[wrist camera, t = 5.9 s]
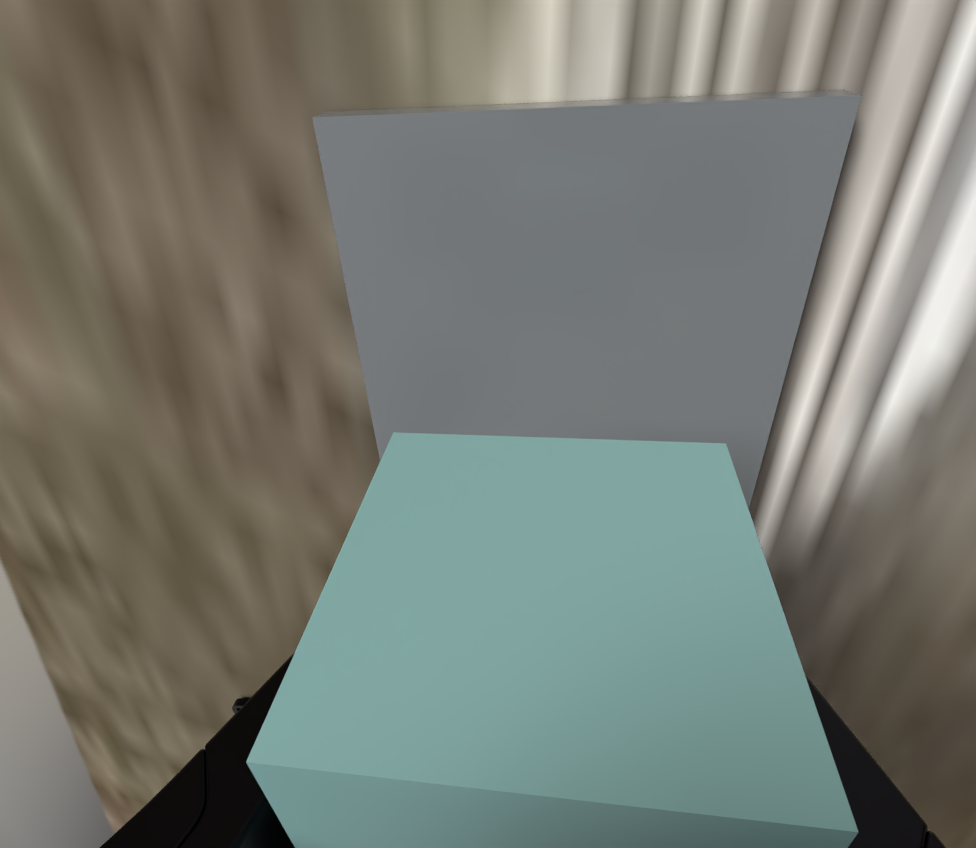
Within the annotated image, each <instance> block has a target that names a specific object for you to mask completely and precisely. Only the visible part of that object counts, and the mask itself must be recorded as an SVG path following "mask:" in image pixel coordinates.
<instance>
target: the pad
mask: <svg viewBox="0 0 976 848" xmlns="http://www.w3.org/2000/svg"><path fill="white" fill-rule="evenodd" d="M861 96H862V95H860V94H857V93H853V92H850V91H846V90H828V91H804V92H781V93H757V94H733V95H709V96H686V97H662V98H638V99H614V100H591V101H567V102H543V103H519V104H495V105H472V106H448V107H424V108H400V109H377V110H353V111H329V112H325V113H322V114H320V115H317V116H315V117H312V119H313V124H314V129H315V134H316V139H317V144H318V149H319V154H320V160H321V165H322V170H323V175H324V180H325V185H326V190H327V195H328V200H329V205H330V210H331V215H332V220H333V225H334V230H335V235H336V240H337V245H338V251H339V256H340V261H341V266H342V271H343V276H344V281H345V286H346V291H347V296H348V301H349V306H350V311H351V316H352V321H353V326H354V331H355V336H356V341H357V347H358V352H359V357H360V362H361V367H362V372H363V377H364V382H365V387H366V392H367V397H368V402H369V407H370V412H371V417H372V422H373V427H374V432H375V438H376V443H377V448H378V453H379V458H380V461H381V459H382V457H383V454H384V452H385V450H386V448H387V445H388V443H389V441H390V439H391V436H392V434H393V432H396V433H426V434H456V435H486V436H517V437H547V438H577V439H607V440H638V441H668V442H698V443H726V445H727V448H728V451H729V454H730V457H731V460H732V463H733V466H734V468H735V471H736V474H737V477H738V480H739V483H740V486H741V489H742V492H743V495H744V498H745V501H746V504H747V507H748V510H749V507H750V503H751V500H752V496H753V492H754V489H755V485H756V481H757V478H758V474H759V470H760V467H761V463H762V459H763V456H764V452H765V448H766V445H767V441H768V437H769V434H770V430H771V426H772V423H773V419H774V415H775V412H776V408H777V404H778V401H779V397H780V393H781V390H782V386H783V382H784V379H785V375H786V371H787V367H788V364H789V360H790V356H791V353H792V349H793V345H794V342H795V338H796V334H797V331H798V327H799V323H800V320H801V316H802V312H803V309H804V305H805V301H806V298H807V294H808V290H809V287H810V283H811V279H812V276H813V272H814V268H815V265H816V261H817V257H818V254H819V250H820V246H821V243H822V239H823V235H824V232H825V228H826V224H827V221H828V217H829V213H830V210H831V206H832V202H833V199H834V195H835V191H836V188H837V184H838V180H839V176H840V173H841V169H842V165H843V162H844V158H845V154H846V151H847V147H848V143H849V140H850V136H851V132H852V129H853V125H854V121H855V118H856V114H857V110H858V107H859V103H860V99H861Z"/></svg>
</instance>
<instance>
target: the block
mask: <svg viewBox="0 0 976 848" xmlns="http://www.w3.org/2000/svg"><path fill="white" fill-rule="evenodd" d="M246 763H247V765H248V766H249V768H250V770H251V772H252V773H253V775H254V777H255V779H256V780H257V782H258V784H259V786H260V787H261V789H262V791H263V793H264V794H265V796H266V798H267V800H268V801H269V803H270V805H271V807H272V808H273V810H274V812H275V814H276V815H277V817H278V819H279V821H280V822H281V824H282V826H283V828H284V829H285V831H286V833H287V835H288V836H289V838H290V840H291V842H292V843H293V845H294V847H295V848H848V846H849V845H850V844H851V842H852V841H853V839H854V838H855V837H856V835H857V834H858V829H857V826H856V823H855V820H854V817H853V814H852V811H851V809H850V806H849V803H848V800H847V797H846V794H845V791H844V788H843V785H842V782H841V779H840V776H839V773H838V770H837V768H836V765H835V762H834V759H833V756H832V753H831V750H830V747H829V744H828V741H827V738H826V735H825V732H824V729H823V726H822V724H821V721H820V718H819V715H818V712H817V709H816V706H815V703H814V700H813V697H812V694H811V691H810V688H809V685H808V682H807V680H806V677H805V674H804V671H803V668H802V665H801V662H800V659H799V656H798V653H797V650H796V647H795V644H794V641H793V639H792V636H791V633H790V630H789V627H788V624H787V621H786V618H785V615H784V612H783V609H782V606H781V603H780V600H779V597H778V595H777V592H776V589H775V586H774V583H773V580H772V577H771V574H770V571H769V568H768V565H767V562H766V559H765V556H764V553H763V551H762V548H761V545H760V542H759V539H758V536H757V533H756V530H755V527H754V524H753V521H752V518H751V515H750V512H749V510H748V507H747V504H746V501H745V498H744V495H743V492H742V489H741V486H740V483H739V480H738V477H737V474H736V471H735V468H734V466H733V463H732V460H731V457H730V454H729V451H728V448H727V445H726V443H698V442H668V441H638V440H607V439H577V438H547V437H517V436H486V435H456V434H426V433H396V432H393V434H392V436H391V439H390V441H389V443H388V445H387V448H386V450H385V452H384V454H383V457H382V459H381V461H380V463H379V466H378V468H377V470H376V472H375V475H374V477H373V479H372V481H371V483H370V486H369V488H368V490H367V492H366V495H365V497H364V499H363V501H362V504H361V506H360V508H359V510H358V513H357V515H356V517H355V519H354V522H353V524H352V526H351V528H350V530H349V533H348V535H347V537H346V539H345V542H344V544H343V546H342V548H341V551H340V553H339V555H338V557H337V560H336V562H335V564H334V566H333V569H332V571H331V573H330V575H329V578H328V580H327V582H326V584H325V586H324V589H323V591H322V593H321V595H320V598H319V600H318V602H317V604H316V607H315V609H314V611H313V613H312V616H311V618H310V620H309V622H308V625H307V627H306V629H305V631H304V633H303V636H302V638H301V640H300V642H299V645H298V647H297V649H296V651H295V654H294V656H293V658H292V660H291V663H290V665H289V667H288V669H287V672H286V674H285V676H284V678H283V680H282V683H281V685H280V687H279V689H278V692H277V694H276V696H275V698H274V701H273V703H272V705H271V707H270V710H269V712H268V714H267V716H266V719H265V721H264V723H263V725H262V728H261V730H260V732H259V734H258V736H257V739H256V741H255V743H254V745H253V748H252V750H251V752H250V754H249V757H248V759H247V761H246Z"/></svg>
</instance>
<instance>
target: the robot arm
mask: <svg viewBox="0 0 976 848" xmlns="http://www.w3.org/2000/svg"><path fill="white" fill-rule="evenodd" d="M294 654H295V653H294ZM294 654H293V655H292V656H291V657H290V658H289V659H288V660H287V661H286V662H285V663H284V664H283V665H282V666H281V667H280V668H279V669H278V670H277V671H276V672H275V673H274V674H273V675H272V676H271V677H270V679H269V680H268V681H267V682H266V683H265V684H264V685H263V686H262V687H261V688H260V689H259V690H258V691H257V692H256V693H255V694H254V695H253V696H252V697H251V698H250V699H242V698H241V699H237V700H236V701H235V703H234V705H233V707H232V709H233V711H234V713H235V715H234V716H233V717H232V718H231V719H230V720H229V721H228V722H227V723H226V724H225V725H224V726H223V727H222V728H221V729H220V730H219V731H218V733H217V734H216V735H215V736H214V737H213V738H212V739H211V740H210V741H209V742H208V743H207V744H206V746H205V750H204V749H201V750H200V751H199V752H198V753H197V754H196V755H195V756H194V757H193V758H192V759H191V760H190V761H189V762H188V763H187V764H186V765H185V767H184V768H183V769H182V770H181V771H180V772H179V773H178V774H177V775H176V776H175V777H174V778H173V779H172V780H171V781H170V782H169V783H168V784H167V785H166V786H165V787H164V788H163V789H162V790H161V791H160V792H159V793H158V794H157V795H156V796H155V797H154V798H153V799H152V800H151V801H150V802H149V803H148V804H147V805H145V806H144V807H143V808H142V809H141V810H140V811H139V812H138V813H137V814H136V815H135V816H134V817H132V818H131V819H130V820H129V821H128V822H127V823H126V824H125V825H124V826H123V827H122V828H121V829H119V830H118V831H117V832H116V833H115V834H114V835H113V836H112V837H111V838H110V839H109V840H108V841H107V842H105V843H104V844H103V845H102V846H101V847H100V848H295V847H294V845H293V843H292V842H291V840H290V838H289V836H288V835H287V833H286V831H285V829H284V828H283V826H282V824H281V822H280V821H279V819H278V817H277V815H276V814H275V812H274V810H273V808H272V807H271V805H270V803H269V801H268V800H267V798H266V796H265V794H264V793H263V791H262V789H261V787H260V786H259V784H258V782H257V780H256V779H255V777H254V775H253V773H252V772H251V770H250V768H249V766H248V765H247V763H246V761H247V759H248V757H249V754H250V752H251V750H252V748H253V745H254V743H255V741H256V739H257V736H258V734H259V732H260V730H261V728H262V725H263V723H264V721H265V719H266V716H267V714H268V712H269V710H270V707H271V705H272V703H273V701H274V698H275V696H276V694H277V692H278V689H279V687H280V685H281V683H282V680H283V678H284V676H285V674H286V672H287V669H288V667H289V665H290V663H291V660H292V658H293V656H294ZM805 677H806V680H807V682H808V685H809V688H810V691H811V694H812V697H813V700H814V703H815V706H816V709H817V712H818V715H819V718H820V721H821V724H822V726H823V729H824V732H825V735H826V738H827V741H828V744H829V747H830V750H831V753H832V756H833V759H834V762H835V765H836V768H837V770H838V773H839V776H840V779H841V782H842V785H843V788H844V791H845V794H846V797H847V800H848V803H849V806H850V809H851V811H852V814H853V817H854V820H855V823H856V826H857V829H858V834H857V835H856V837H855V838H854V839H853V841H852V842H851V844H850V845H849V846H848V848H946V847H945V846H944V845H943V844H942V842H941V841H940V840H939V839H938V837H937V836H936V835H935V834H934V833H933V832H931V831H928V832H927V829H928V827H927V824H926V823H925V822H924V821H923V819H922V818H921V817H920V816H919V814H918V813H917V812H916V811H915V809H914V808H913V807H912V806H911V805H910V803H909V802H908V801H907V800H906V798H905V797H904V796H903V795H902V793H901V792H900V791H899V790H898V788H897V787H896V786H895V785H894V784H893V782H892V781H891V780H890V779H889V777H888V776H887V775H886V774H885V772H884V771H883V770H882V769H881V767H880V766H879V765H878V764H877V763H876V761H875V760H874V759H873V758H872V756H871V755H870V754H869V753H868V751H867V750H866V749H865V748H864V746H863V745H862V744H861V743H860V742H859V740H858V739H857V738H856V737H855V735H854V734H853V733H852V732H851V730H850V729H849V728H848V727H847V726H846V724H845V723H844V722H843V721H842V719H841V718H840V717H839V716H838V714H837V713H836V712H835V711H834V709H833V708H832V707H831V706H830V705H829V703H828V702H827V701H826V700H825V698H824V697H823V696H822V695H821V693H820V692H819V691H818V690H817V688H816V687H815V686H814V685H813V684H812V682H811V681H810V680H809V679H808V677H807V676H806V675H805Z"/></svg>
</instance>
